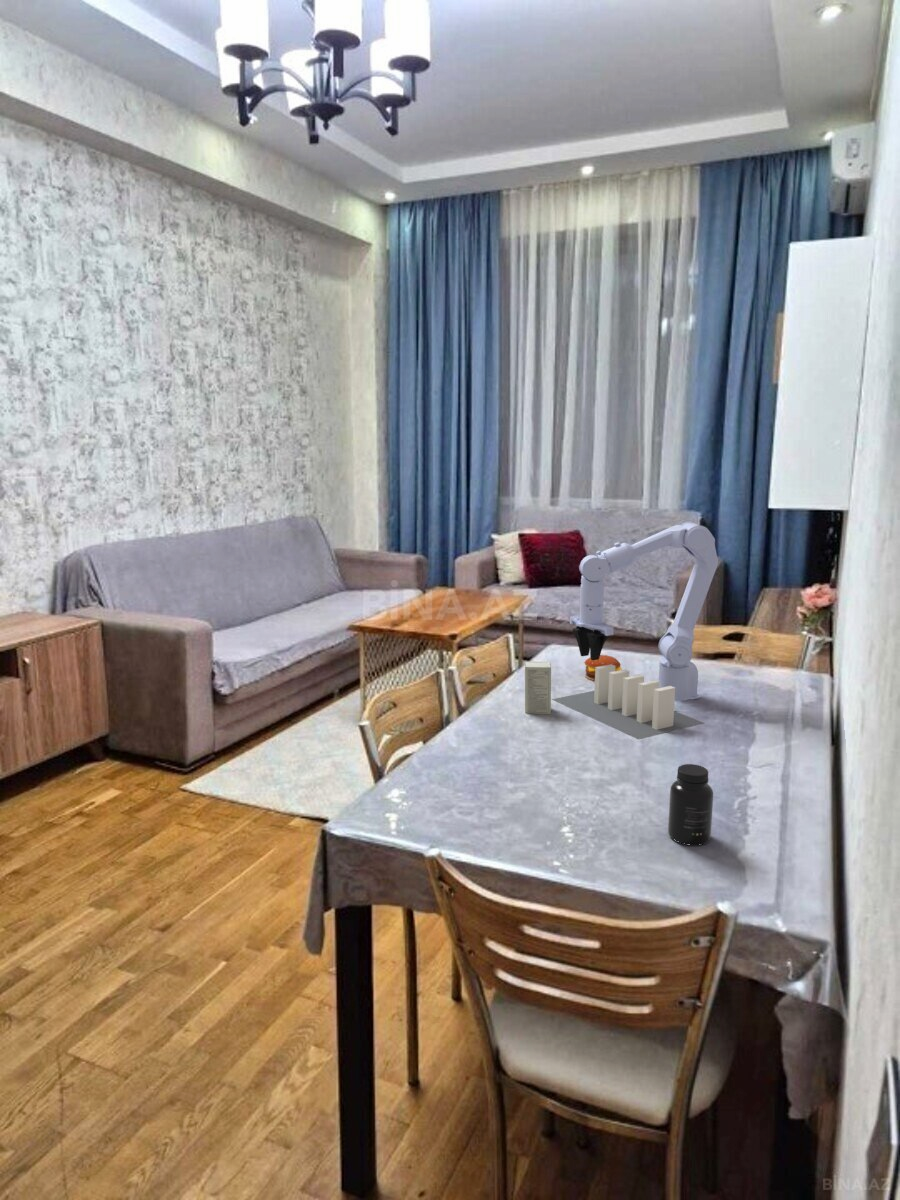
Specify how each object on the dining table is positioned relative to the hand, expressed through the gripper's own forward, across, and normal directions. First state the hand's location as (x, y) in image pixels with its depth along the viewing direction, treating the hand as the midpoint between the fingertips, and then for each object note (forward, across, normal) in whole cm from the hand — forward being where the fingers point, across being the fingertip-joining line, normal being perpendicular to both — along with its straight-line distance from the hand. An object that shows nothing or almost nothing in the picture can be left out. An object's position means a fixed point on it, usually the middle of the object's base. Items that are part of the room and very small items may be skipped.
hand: (589, 657), depth 204 cm
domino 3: (+10, +16, 0) cm, 19 cm away
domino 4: (+10, +21, 0) cm, 23 cm away
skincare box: (+11, +3, -18) cm, 21 cm away
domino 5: (+10, +26, 0) cm, 28 cm away
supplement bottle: (+11, +65, -32) cm, 73 cm away
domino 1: (+10, +6, 0) cm, 11 cm away
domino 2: (+10, +11, 0) cm, 15 cm away
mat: (+10, +14, 0) cm, 17 cm away
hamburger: (+11, -10, +13) cm, 20 cm away
